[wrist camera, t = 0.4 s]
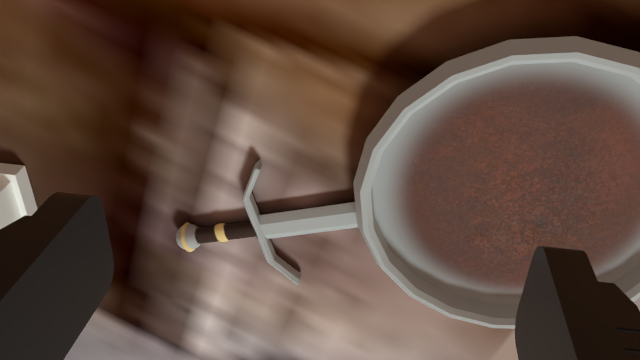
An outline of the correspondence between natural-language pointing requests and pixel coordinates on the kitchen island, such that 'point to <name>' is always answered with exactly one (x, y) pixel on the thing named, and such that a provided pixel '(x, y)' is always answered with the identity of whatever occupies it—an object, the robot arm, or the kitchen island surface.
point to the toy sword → (488, 178)
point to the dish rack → (15, 194)
